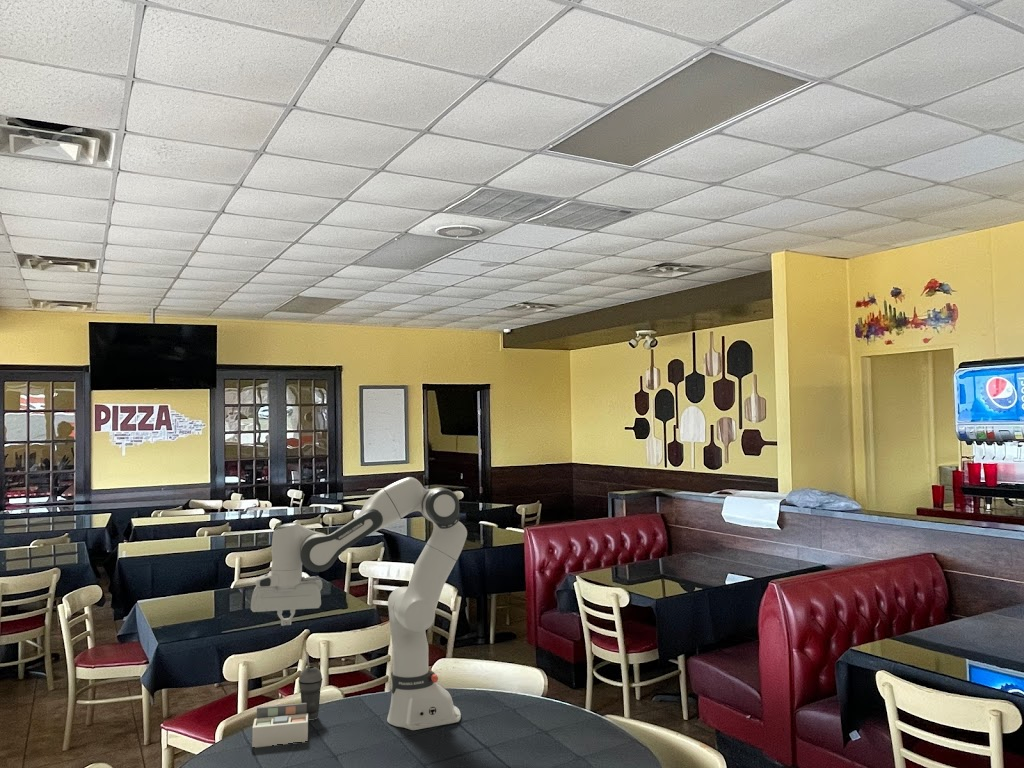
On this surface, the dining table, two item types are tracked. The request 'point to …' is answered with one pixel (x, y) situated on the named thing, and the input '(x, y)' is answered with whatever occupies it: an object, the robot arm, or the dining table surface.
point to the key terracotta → (298, 720)
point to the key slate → (281, 719)
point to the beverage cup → (310, 689)
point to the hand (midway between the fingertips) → (286, 624)
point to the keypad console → (280, 725)
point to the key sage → (263, 723)
